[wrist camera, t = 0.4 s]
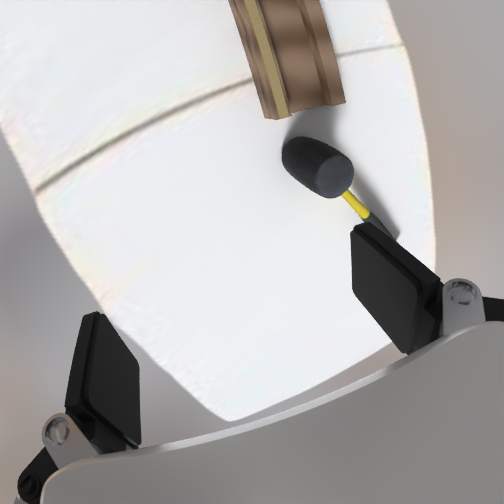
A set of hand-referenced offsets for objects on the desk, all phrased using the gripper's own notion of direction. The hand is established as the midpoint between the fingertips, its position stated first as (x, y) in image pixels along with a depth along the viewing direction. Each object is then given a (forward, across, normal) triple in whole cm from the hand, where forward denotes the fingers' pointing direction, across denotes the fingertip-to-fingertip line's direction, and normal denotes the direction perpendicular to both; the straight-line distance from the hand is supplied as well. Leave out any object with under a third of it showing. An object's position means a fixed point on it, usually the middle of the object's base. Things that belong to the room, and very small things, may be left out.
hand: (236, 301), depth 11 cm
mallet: (+30, -21, +14) cm, 40 cm away
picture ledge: (+30, -15, -12) cm, 36 cm away
